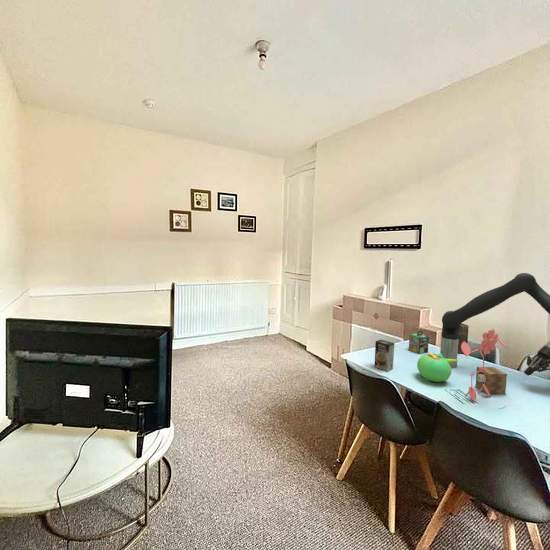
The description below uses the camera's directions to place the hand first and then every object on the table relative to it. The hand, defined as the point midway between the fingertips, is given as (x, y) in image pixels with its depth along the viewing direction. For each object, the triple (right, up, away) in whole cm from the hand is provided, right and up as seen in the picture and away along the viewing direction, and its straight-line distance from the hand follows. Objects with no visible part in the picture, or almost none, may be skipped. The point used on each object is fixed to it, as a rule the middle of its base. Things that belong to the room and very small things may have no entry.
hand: (526, 374), depth 161 cm
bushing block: (-19, -8, 0) cm, 20 cm away
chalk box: (-29, -3, +58) cm, 65 cm away
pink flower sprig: (-28, -10, -11) cm, 32 cm away
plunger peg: (-19, -5, -1) cm, 19 cm away
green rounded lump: (-41, -7, +12) cm, 43 cm away
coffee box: (-63, -5, +28) cm, 69 cm away
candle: (0, -3, +56) cm, 56 cm away
